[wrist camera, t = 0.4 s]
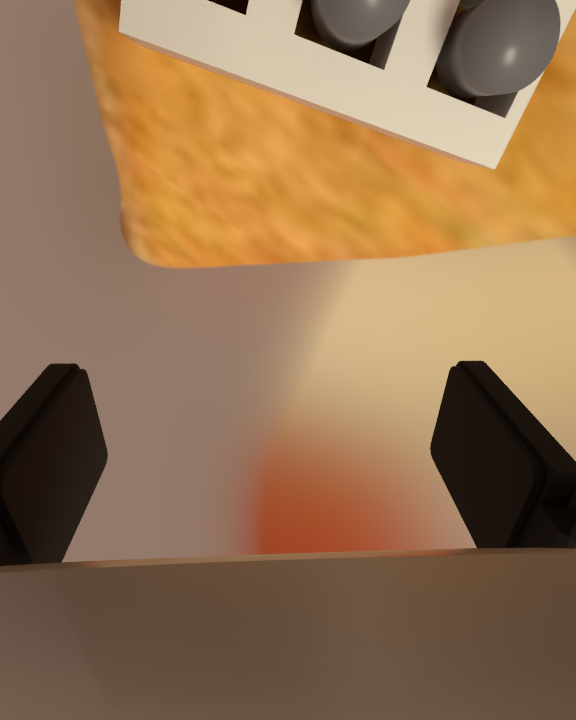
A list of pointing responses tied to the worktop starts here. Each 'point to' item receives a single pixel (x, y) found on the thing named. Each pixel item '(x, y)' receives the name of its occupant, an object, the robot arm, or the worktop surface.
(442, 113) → the button panel
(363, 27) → the middle cap
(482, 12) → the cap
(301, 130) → the worktop surface
